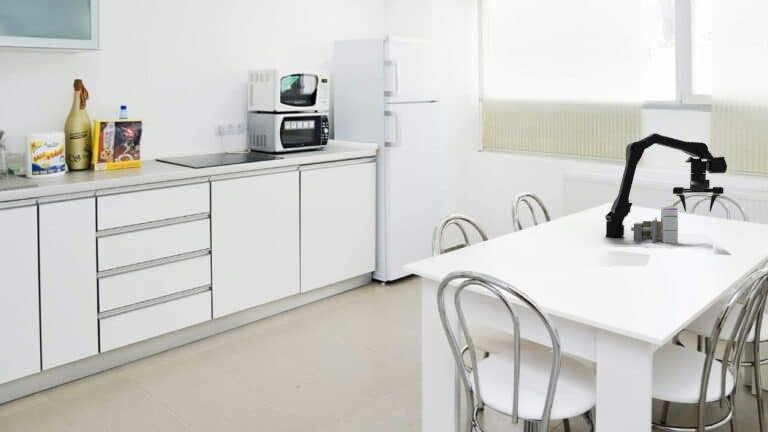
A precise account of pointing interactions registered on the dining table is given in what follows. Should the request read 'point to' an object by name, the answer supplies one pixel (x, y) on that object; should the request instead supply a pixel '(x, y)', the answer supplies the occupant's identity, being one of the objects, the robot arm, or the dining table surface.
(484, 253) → the dining table surface
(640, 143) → the robot arm
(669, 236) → the syrup box
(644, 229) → the gauge plunger
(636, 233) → the gauge housing
